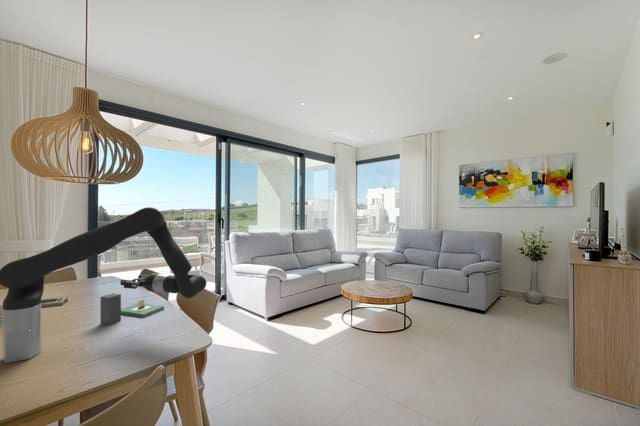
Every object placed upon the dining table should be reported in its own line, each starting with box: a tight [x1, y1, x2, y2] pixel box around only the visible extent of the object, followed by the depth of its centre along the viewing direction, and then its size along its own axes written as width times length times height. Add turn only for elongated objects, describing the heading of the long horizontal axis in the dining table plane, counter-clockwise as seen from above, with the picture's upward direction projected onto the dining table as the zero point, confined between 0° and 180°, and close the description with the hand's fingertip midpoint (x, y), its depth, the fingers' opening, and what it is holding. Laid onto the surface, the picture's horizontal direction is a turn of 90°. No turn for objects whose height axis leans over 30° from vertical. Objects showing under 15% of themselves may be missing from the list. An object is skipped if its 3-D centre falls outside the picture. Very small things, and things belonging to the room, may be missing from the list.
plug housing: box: [99, 292, 122, 326], centre depth 130 cm, size 5×6×12 cm
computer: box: [41, 296, 69, 308], centre depth 152 cm, size 16×8×3 cm, turn 115°
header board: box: [121, 299, 165, 318], centre depth 145 cm, size 16×12×6 cm
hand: (130, 279), depth 127 cm, fingers open, 8 cm apart
